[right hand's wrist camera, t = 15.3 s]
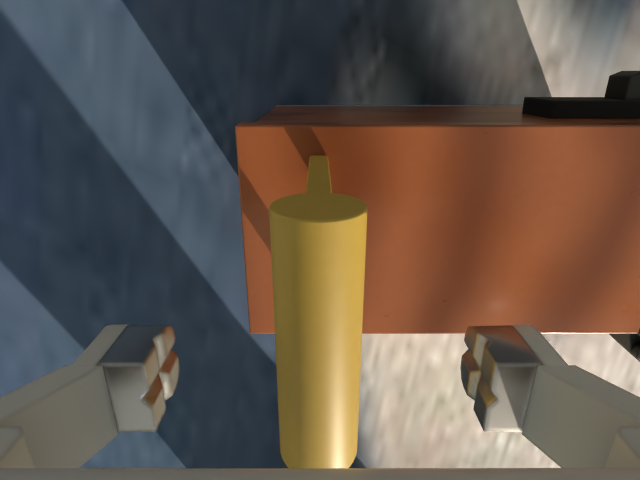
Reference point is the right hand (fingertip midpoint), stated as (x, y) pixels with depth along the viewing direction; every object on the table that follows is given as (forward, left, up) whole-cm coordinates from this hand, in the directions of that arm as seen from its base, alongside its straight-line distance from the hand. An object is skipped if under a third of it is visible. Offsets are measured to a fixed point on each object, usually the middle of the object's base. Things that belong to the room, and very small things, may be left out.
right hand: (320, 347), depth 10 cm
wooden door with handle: (+3, +5, -8) cm, 10 cm away
